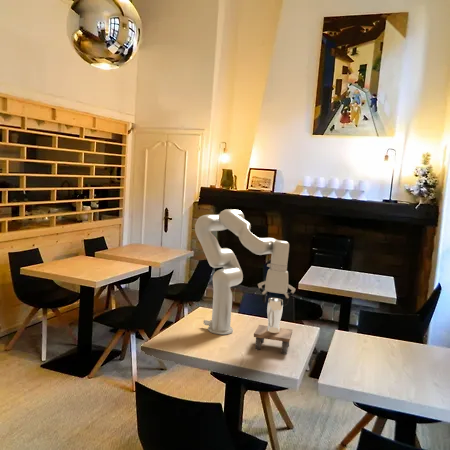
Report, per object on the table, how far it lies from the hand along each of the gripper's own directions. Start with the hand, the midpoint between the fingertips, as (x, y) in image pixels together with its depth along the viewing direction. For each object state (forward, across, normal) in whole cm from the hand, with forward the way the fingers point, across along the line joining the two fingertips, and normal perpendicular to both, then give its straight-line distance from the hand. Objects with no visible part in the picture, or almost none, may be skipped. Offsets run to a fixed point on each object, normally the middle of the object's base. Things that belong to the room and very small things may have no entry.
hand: (274, 304), depth 202 cm
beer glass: (+13, +1, 0) cm, 13 cm away
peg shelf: (+20, +1, 0) cm, 20 cm away
